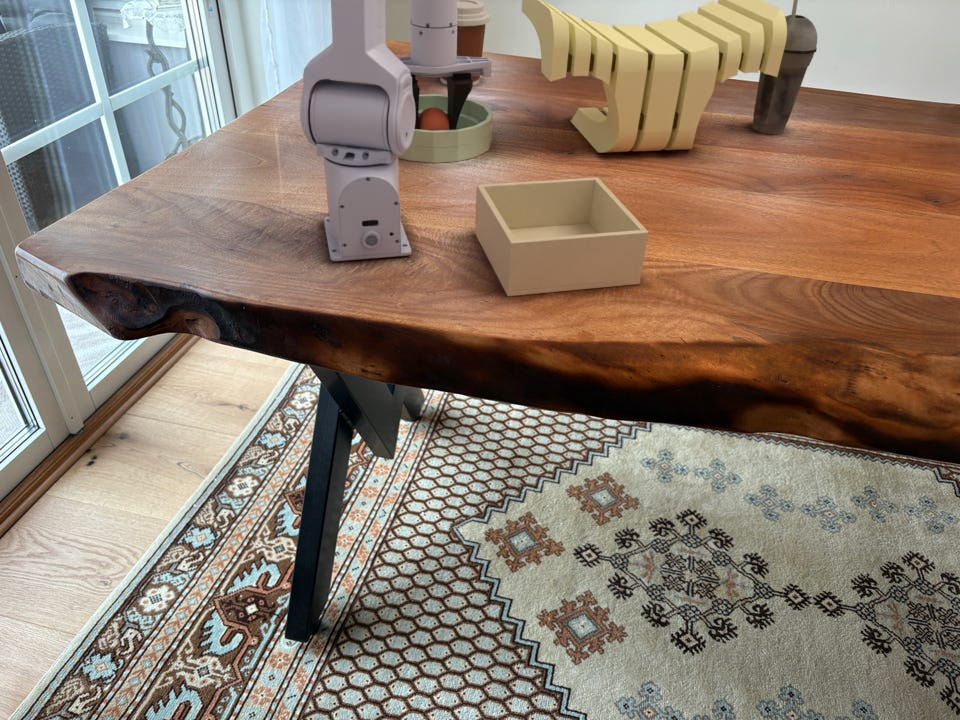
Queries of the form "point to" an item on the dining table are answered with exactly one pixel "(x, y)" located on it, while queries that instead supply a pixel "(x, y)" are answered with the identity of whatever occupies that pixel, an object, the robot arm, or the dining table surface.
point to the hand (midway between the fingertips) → (433, 133)
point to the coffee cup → (470, 31)
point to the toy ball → (434, 120)
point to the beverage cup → (785, 76)
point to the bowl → (452, 133)
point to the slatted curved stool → (657, 67)
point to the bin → (558, 236)
